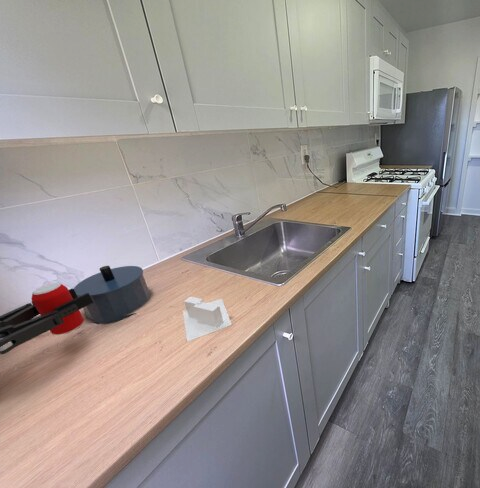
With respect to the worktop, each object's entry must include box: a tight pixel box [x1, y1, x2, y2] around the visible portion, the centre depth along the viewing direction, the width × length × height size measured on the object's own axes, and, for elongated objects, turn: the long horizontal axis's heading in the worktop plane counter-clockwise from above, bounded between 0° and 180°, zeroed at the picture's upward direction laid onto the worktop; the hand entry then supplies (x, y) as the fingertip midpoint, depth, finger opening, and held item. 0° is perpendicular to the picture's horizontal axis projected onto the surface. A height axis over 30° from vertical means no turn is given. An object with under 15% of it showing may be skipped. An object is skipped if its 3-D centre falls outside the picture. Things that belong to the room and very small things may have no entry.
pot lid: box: [73, 265, 144, 297], centre depth 78 cm, size 17×17×5 cm
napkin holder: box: [182, 296, 233, 343], centre depth 74 cm, size 15×11×6 cm
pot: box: [82, 273, 151, 325], centre depth 81 cm, size 16×16×10 cm
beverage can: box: [31, 282, 84, 336], centre depth 63 cm, size 6×6×12 cm
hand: (82, 295), depth 67 cm, fingers closed on beverage can, 6 cm apart
